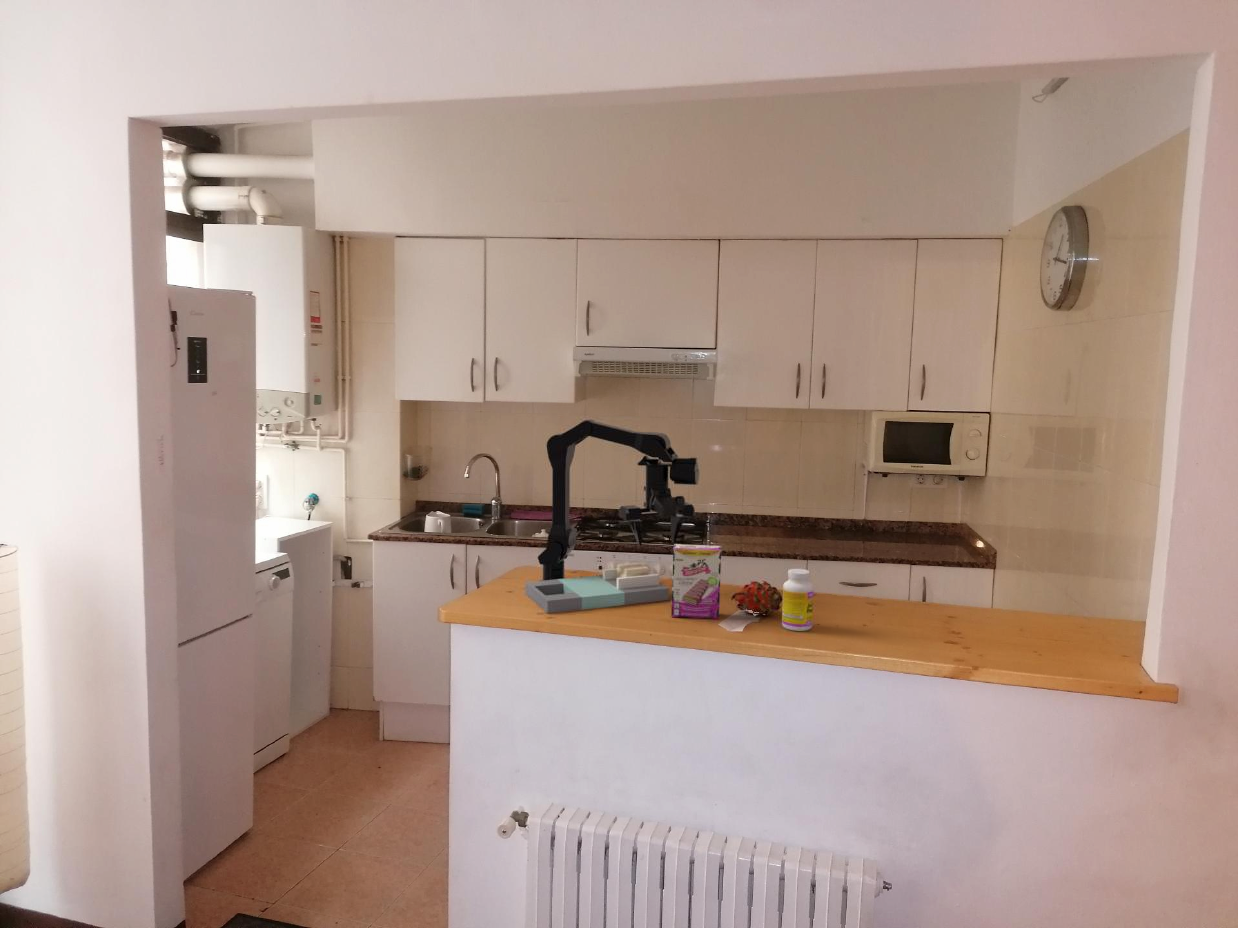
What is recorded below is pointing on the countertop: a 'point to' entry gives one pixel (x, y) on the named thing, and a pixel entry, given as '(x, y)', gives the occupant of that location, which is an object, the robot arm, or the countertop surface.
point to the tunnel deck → (595, 591)
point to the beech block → (631, 570)
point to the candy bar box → (696, 581)
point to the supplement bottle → (797, 601)
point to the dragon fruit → (758, 598)
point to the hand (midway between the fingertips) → (656, 544)
